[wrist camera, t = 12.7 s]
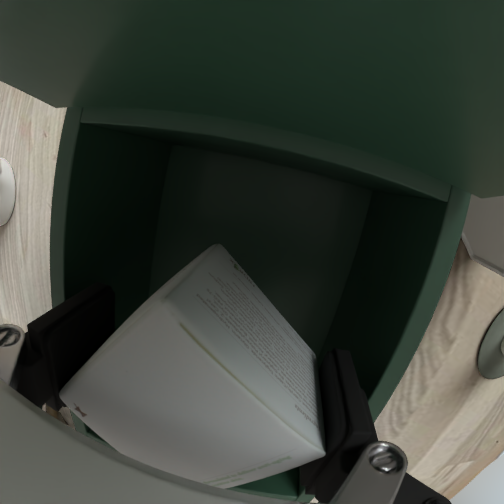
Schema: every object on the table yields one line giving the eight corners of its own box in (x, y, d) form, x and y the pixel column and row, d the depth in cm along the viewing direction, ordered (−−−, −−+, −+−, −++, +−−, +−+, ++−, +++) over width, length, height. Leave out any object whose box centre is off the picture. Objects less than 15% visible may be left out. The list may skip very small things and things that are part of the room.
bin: (306, 402, 19) (307, 504, 10) (139, 355, 20) (76, 434, 11) (384, 180, 15) (474, 185, 6) (168, 131, 16) (68, 99, 7)
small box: (214, 414, 12) (184, 501, 7) (121, 323, 11) (49, 392, 6) (322, 354, 10) (336, 459, 6) (219, 236, 10) (156, 290, 5)
